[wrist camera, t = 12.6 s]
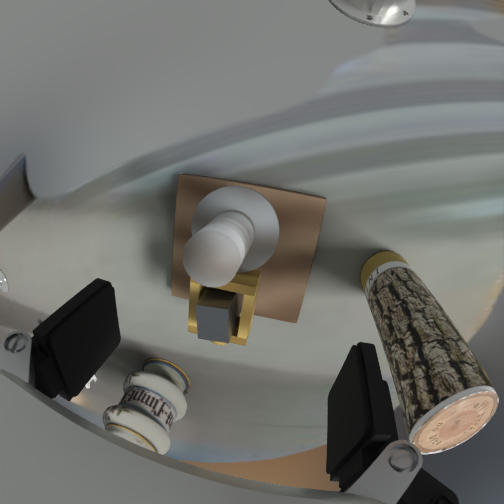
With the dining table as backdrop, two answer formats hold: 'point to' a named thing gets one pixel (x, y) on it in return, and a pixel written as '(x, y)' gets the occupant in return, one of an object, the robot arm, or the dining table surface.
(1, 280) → the wineglass
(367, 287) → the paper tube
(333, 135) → the dining table surface
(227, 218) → the board
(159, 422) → the apothecary jar
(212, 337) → the grey rectangular bar
